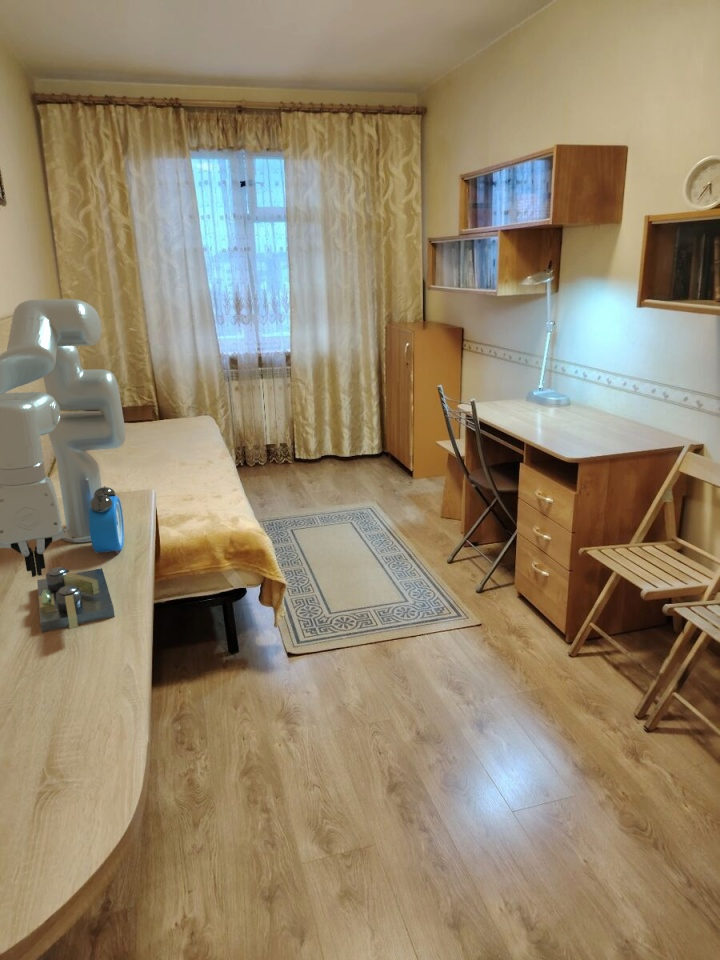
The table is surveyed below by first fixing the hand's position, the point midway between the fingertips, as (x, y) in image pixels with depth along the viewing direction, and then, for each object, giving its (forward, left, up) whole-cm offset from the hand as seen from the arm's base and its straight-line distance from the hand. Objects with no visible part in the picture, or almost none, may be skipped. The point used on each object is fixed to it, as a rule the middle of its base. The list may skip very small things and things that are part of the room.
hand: (36, 573), depth 119 cm
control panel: (-11, +10, -14) cm, 20 cm away
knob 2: (-2, +6, -11) cm, 13 cm away
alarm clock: (-31, +28, -14) cm, 44 cm away
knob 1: (-12, +10, -11) cm, 19 cm away
